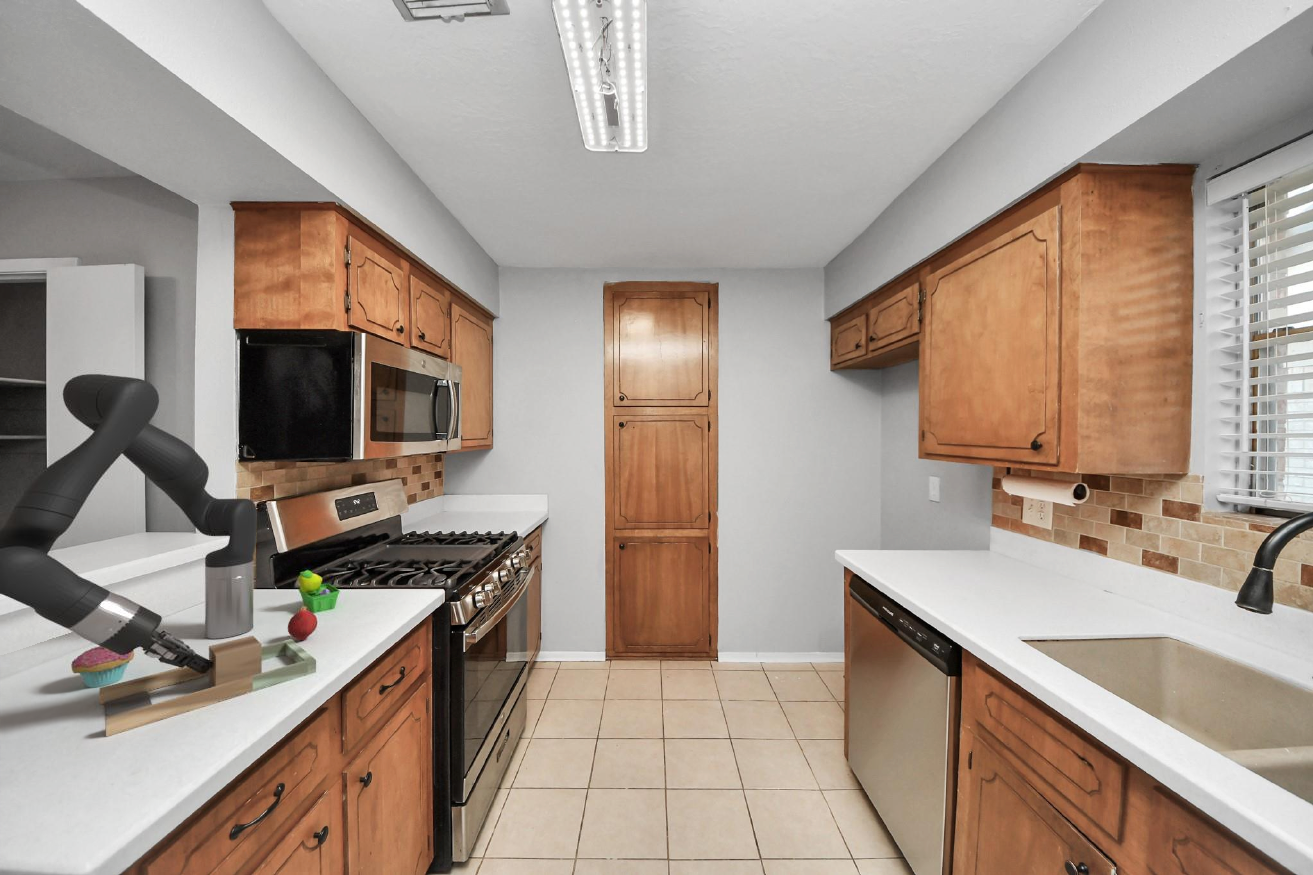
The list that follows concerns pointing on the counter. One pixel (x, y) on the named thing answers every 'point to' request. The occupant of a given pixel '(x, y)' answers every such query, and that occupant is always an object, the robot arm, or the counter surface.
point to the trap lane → (135, 709)
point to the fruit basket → (316, 592)
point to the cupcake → (101, 666)
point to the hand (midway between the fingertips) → (208, 668)
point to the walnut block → (235, 660)
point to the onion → (302, 624)
